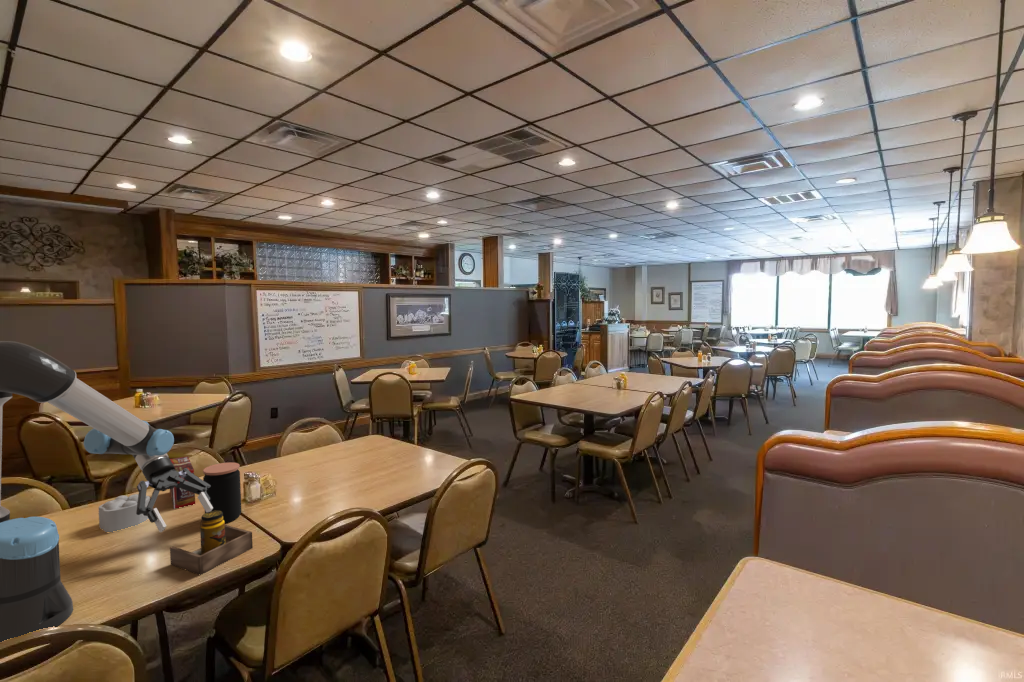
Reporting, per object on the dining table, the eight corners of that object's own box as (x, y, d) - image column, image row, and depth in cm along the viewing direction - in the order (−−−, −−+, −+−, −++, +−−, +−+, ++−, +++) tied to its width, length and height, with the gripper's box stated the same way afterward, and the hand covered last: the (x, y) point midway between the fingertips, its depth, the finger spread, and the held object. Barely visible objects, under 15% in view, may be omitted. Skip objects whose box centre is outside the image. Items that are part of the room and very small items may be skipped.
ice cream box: (169, 492, 182) (168, 459, 181) (189, 488, 186) (188, 456, 185) (174, 509, 167) (172, 473, 166) (195, 504, 171) (193, 469, 170)
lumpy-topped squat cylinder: (96, 526, 154) (95, 501, 153) (144, 512, 164) (143, 488, 164) (107, 534, 148) (106, 508, 147) (156, 519, 159) (155, 495, 158)
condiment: (227, 555, 134) (225, 515, 133) (191, 564, 129) (190, 522, 128) (227, 545, 140) (225, 506, 139) (193, 552, 135) (191, 513, 135)
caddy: (200, 575, 125) (199, 557, 125) (170, 564, 130) (169, 547, 130) (252, 548, 140) (252, 531, 139) (224, 539, 145) (223, 524, 144)
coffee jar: (234, 509, 167) (232, 460, 166) (246, 517, 160) (244, 466, 159) (200, 519, 159) (198, 468, 158) (211, 528, 152) (209, 475, 151)
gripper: (191, 459, 158) (222, 510, 152) (103, 484, 135) (135, 545, 130) (201, 446, 155) (232, 497, 150) (112, 469, 132) (146, 530, 127)
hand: (187, 519), depth 140 cm, fingers open, 13 cm apart
